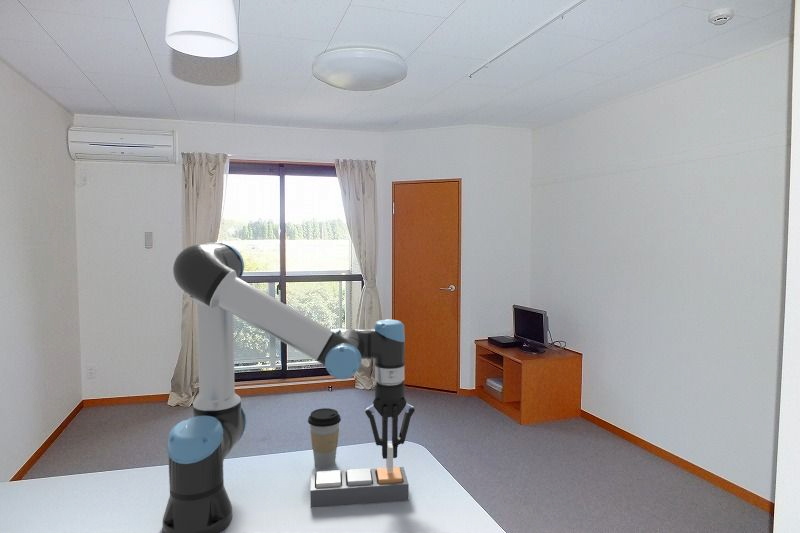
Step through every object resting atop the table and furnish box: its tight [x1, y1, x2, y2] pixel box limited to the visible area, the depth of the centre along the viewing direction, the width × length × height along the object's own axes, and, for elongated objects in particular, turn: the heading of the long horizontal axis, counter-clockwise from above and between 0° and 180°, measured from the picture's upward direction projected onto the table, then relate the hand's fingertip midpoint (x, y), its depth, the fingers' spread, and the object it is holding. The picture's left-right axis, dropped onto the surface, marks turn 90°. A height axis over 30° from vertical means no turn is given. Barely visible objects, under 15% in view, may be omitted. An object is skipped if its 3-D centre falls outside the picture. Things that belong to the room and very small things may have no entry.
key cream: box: [316, 469, 341, 488], centre depth 128 cm, size 6×6×2 cm
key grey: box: [347, 467, 372, 486], centre depth 129 cm, size 6×6×2 cm
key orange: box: [376, 466, 402, 484], centre depth 130 cm, size 6×6×2 cm
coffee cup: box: [307, 407, 342, 469], centre depth 145 cm, size 9×9×15 cm
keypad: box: [309, 466, 410, 509], centre depth 129 cm, size 24×9×4 cm, turn 98°
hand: (389, 469), depth 130 cm, fingers closed
